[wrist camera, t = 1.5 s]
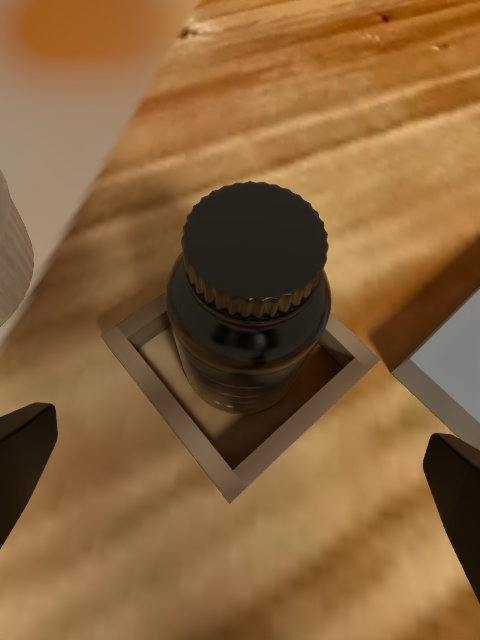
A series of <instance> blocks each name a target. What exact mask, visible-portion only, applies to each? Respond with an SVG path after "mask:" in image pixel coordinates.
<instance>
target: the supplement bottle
mask: <svg viewBox="0 0 480 640" xmlns="http://www.w3.org/2000/svg"><path fill="white" fill-rule="evenodd" d="M327 236H328V234H327V232H326V231H325V229H324V222H323V221H322V220H321V219H320V218H319V214H318V212H317V211H315V210H314V209H313V208H312V206H311V204H310V203H309V202H307V201H305V200H303V199H302V197H301V196H300V195H298V194H294V193H292V192H291V191H290V190H289V189H286V188H281V187H279V186H278V185H274V184H267V183H265V182H259V183H255V182H251V181H249V182H246V183H235V184H233V185H229V186H228V185H227V186H223V187H222V188H221V189H219V190H214V191H212V192H211V193H210V194H209V195H208V196H205V197H202V199H201V200H200V202H199V203H198V204H196V205H194V206H193V210H192V212H191V213H190V214H189V215H188V216H187V222H186V224H185V225H184V227H183V237H182V240H181V244H182V250H183V251H182V252H181V254H180V255H179V257H178V258H177V259H176V261H175V263H174V265H173V266H172V269H171V271H170V273H169V277H168V280H167V285H166V294H165V298H166V308H167V314H168V318H169V322H170V326H171V329H172V332H173V335H174V339H175V342H176V345H177V348H178V352H179V355H180V358H181V361H182V365H183V368H184V371H185V373H186V376H187V379H188V381H189V383H190V385H191V386H192V388H193V389H194V391H195V392H196V393H197V394H198V395H199V396H200V397H201V398H202V399H203V400H204V401H205V402H206V403H208V404H209V405H211V406H213V407H215V408H217V409H219V410H222V411H225V412H229V413H234V414H249V413H255V412H258V411H262V410H264V409H266V408H268V407H270V406H272V405H274V404H275V403H276V402H278V401H279V400H280V399H281V398H282V397H283V396H284V395H285V394H286V393H287V392H288V390H289V389H290V388H291V386H292V385H293V383H294V381H295V380H296V378H297V376H298V375H299V373H300V371H301V370H302V368H303V366H304V365H305V363H306V361H307V360H308V358H309V356H310V355H311V353H312V351H313V350H314V348H315V346H316V345H317V343H318V341H319V340H320V338H321V336H322V334H323V332H324V330H325V327H326V325H327V322H328V319H329V315H330V310H331V290H330V285H329V281H328V278H327V275H326V272H325V270H324V266H325V264H326V261H327V255H326V254H327V251H328V247H329V246H328V243H327Z"/></svg>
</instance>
